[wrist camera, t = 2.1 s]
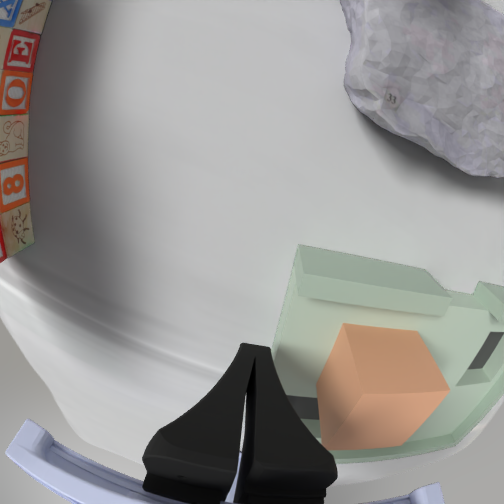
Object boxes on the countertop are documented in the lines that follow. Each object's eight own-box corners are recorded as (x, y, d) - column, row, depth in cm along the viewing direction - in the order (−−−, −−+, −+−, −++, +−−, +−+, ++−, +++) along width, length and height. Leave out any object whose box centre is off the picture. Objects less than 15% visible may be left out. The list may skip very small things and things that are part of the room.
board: (446, 424, 19) (455, 446, 16) (248, 426, 19) (244, 458, 16) (532, 293, 13) (554, 312, 10) (298, 244, 13) (303, 273, 10)
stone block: (490, 173, 12) (504, 40, 7) (533, 204, 8) (550, 41, 3) (325, 130, 13) (334, -28, 8) (340, 147, 9) (347, -66, 4)
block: (383, 387, 14) (401, 445, 10) (315, 384, 14) (322, 450, 10) (416, 330, 12) (450, 390, 8) (343, 322, 12) (363, 393, 8)
